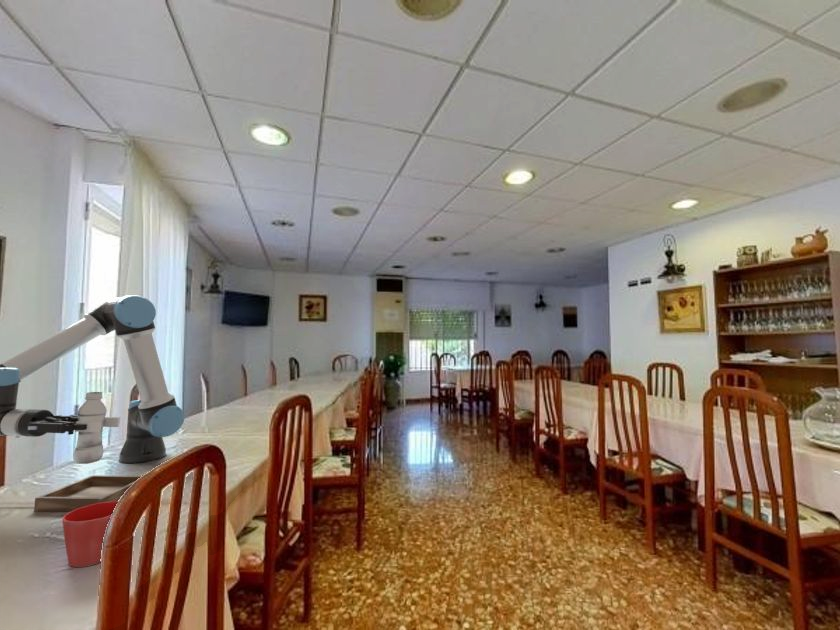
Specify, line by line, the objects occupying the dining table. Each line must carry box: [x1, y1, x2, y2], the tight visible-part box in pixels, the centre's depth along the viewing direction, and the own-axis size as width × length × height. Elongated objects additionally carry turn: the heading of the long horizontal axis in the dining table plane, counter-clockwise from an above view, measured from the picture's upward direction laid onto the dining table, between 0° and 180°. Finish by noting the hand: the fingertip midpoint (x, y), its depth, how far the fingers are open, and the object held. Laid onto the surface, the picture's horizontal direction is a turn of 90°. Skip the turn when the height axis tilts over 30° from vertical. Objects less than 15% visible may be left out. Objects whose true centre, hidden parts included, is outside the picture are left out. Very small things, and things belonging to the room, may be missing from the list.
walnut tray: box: [33, 474, 142, 513], centre depth 111 cm, size 18×18×4 cm
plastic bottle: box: [73, 391, 108, 465], centre depth 110 cm, size 6×7×20 cm
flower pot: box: [61, 501, 118, 568], centre depth 81 cm, size 11×11×10 cm
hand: (109, 424), depth 110 cm, fingers closed on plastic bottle, 6 cm apart
